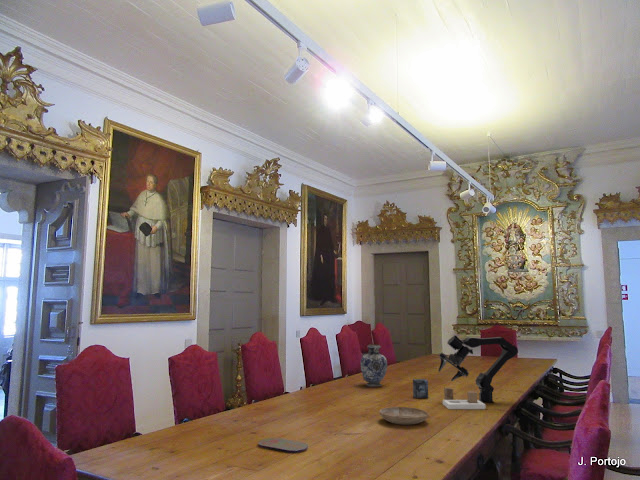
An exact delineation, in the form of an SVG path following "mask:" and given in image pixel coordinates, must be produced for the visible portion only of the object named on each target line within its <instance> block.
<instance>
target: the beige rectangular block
mask: <svg viewBox="0 0 640 480" xmlns="http://www.w3.org/2000/svg"><path fill="white" fill-rule="evenodd" d="M443 390H444V392H443V393H444V394H443V395H444V396H443V397H444V400H454V389H453V388H452V387H444V388H443Z"/></svg>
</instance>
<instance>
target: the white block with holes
mask: <svg viewBox="0 0 640 480" xmlns="http://www.w3.org/2000/svg"><path fill="white" fill-rule="evenodd" d="M442 405H443V406H445V408H447V409H448V410H486V408H487V407H486V403H485V402H482V401H480V400H479V399H478V392H477V391H475V390H468V391H467V399H453V400H445V399H442Z"/></svg>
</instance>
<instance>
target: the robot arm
mask: <svg viewBox="0 0 640 480" xmlns="http://www.w3.org/2000/svg"><path fill="white" fill-rule="evenodd" d="M447 344H448V345H449V347H451V348H452V349H453V350H454V351H456V350H457V351H456V352H454V353H450V354H449V355H447V354H445V353H443V352H441V353H439V355H438V356H439V359H440V365H439V367H438V372H441V371H442V369H444V367H445V366H446V364H447V363H448V364H450V365H452V367H454V368H455V369H457V373H456V374H455V375H454V376H453V377H452V378H451V380H450V381H451V382H453V381H455V380H457V379H459V378H461V377H464V378H465V377H466V378H468V377H469V371H468V369H466V368H465V367H463V366H461V365H462V362H463V363H464V361H465V359H466V358H467V356H468V355H470V354H471V355H474V351H473V348H474V349H475V348H477V347H480V346H484V345H485V346H487V345H488V346H489V345H499V347H501V349H502V350H501V354H500V355H499V356H498V358H497V359H495V361H494V362H493V364H492V365H491V366H490V367H489V368H488V370H486V372H480V373H479V374H478V375H477V376H476V379H475V385H476V386H477V387H478V389H479V392H478V398H479V399H478V400H479V401H481V402H482V403H494V400H493V399H494V398H493V392H494V386H492V385H491V384H492V382H493V378H494V377H495V376H496V374H497V373H498V372H499V371H500V370H501V369H502V367H503V366H505V364H506V363H507V362H508V361H509V360H511V359H513V358H514V357H515V356H517V355H518V353H519V349H518V347H517V346H515V345H513V344H512V343H510V342H509V341H507V340H506V339H505V338H504V337H501V336H496V337H486V338H485V337H481V338H479V337H472V336H471V337H470V336H467V337H465V339H462V340H461V339H460V338H459V337H458V336H457V335H455V334H454V335H453V336H452V337H450V338H449V339H448V340H447Z"/></svg>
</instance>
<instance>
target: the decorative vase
mask: <svg viewBox="0 0 640 480" xmlns="http://www.w3.org/2000/svg"><path fill="white" fill-rule="evenodd" d="M366 348H368V353H365V354H363V356H362V357H361V359H360V362H359V363H360V371H361V373H362V375H361V376H362V378H363V381H365V382H367V383H366V386H367V387H371V388H372V387H373V388H376V387H377V388H380V387H382V386H383V385H382V384H381V383H380V382H382V381H383V379H384V378H385V377H386V373H387V370H388V361H387V357H385V355H383V354H381V353H380V349H381V348H382V346H380V344H376V343H375V344H373V343H369V344H368V345H367V346H366Z"/></svg>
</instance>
